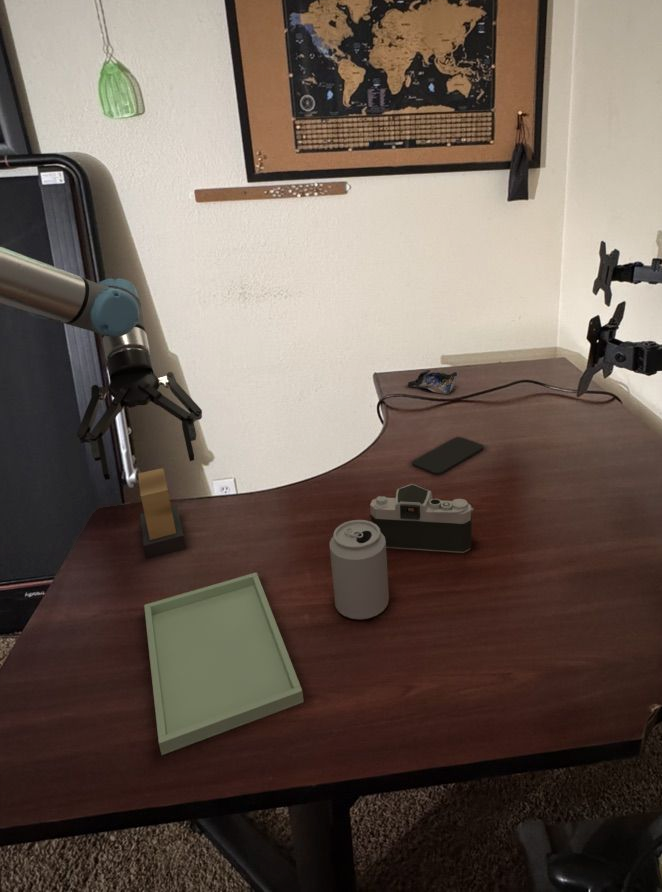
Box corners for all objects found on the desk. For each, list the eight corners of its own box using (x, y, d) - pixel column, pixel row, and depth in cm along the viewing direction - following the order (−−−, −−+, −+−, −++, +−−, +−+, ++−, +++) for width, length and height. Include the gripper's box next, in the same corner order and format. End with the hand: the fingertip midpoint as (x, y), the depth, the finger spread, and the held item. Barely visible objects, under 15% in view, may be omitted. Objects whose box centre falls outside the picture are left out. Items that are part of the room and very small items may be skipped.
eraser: (143, 529, 107) (130, 472, 103) (179, 519, 109) (168, 463, 106) (147, 561, 99) (134, 500, 95) (186, 550, 101) (175, 491, 97)
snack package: (415, 400, 156) (461, 393, 157) (413, 375, 154) (459, 368, 156) (405, 391, 167) (448, 385, 169) (403, 367, 166) (446, 361, 168)
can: (377, 629, 82) (373, 552, 78) (326, 617, 85) (318, 542, 81) (396, 593, 89) (393, 520, 85) (347, 583, 91) (342, 512, 87)
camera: (474, 526, 103) (475, 472, 100) (472, 558, 95) (472, 501, 92) (379, 520, 106) (376, 468, 103) (369, 551, 98) (366, 496, 95)
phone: (409, 462, 123) (457, 435, 133) (409, 465, 124) (457, 439, 133) (438, 474, 118) (486, 445, 128) (438, 478, 119) (486, 449, 128)
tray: (146, 616, 87) (144, 604, 86) (258, 583, 92) (256, 571, 92) (162, 757, 66) (158, 743, 66) (304, 704, 72) (302, 690, 71)
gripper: (199, 356, 121) (224, 458, 113) (56, 379, 112) (73, 492, 104) (199, 336, 114) (225, 442, 106) (47, 359, 105) (64, 477, 98)
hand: (150, 467), depth 105 cm, fingers open, 13 cm apart
